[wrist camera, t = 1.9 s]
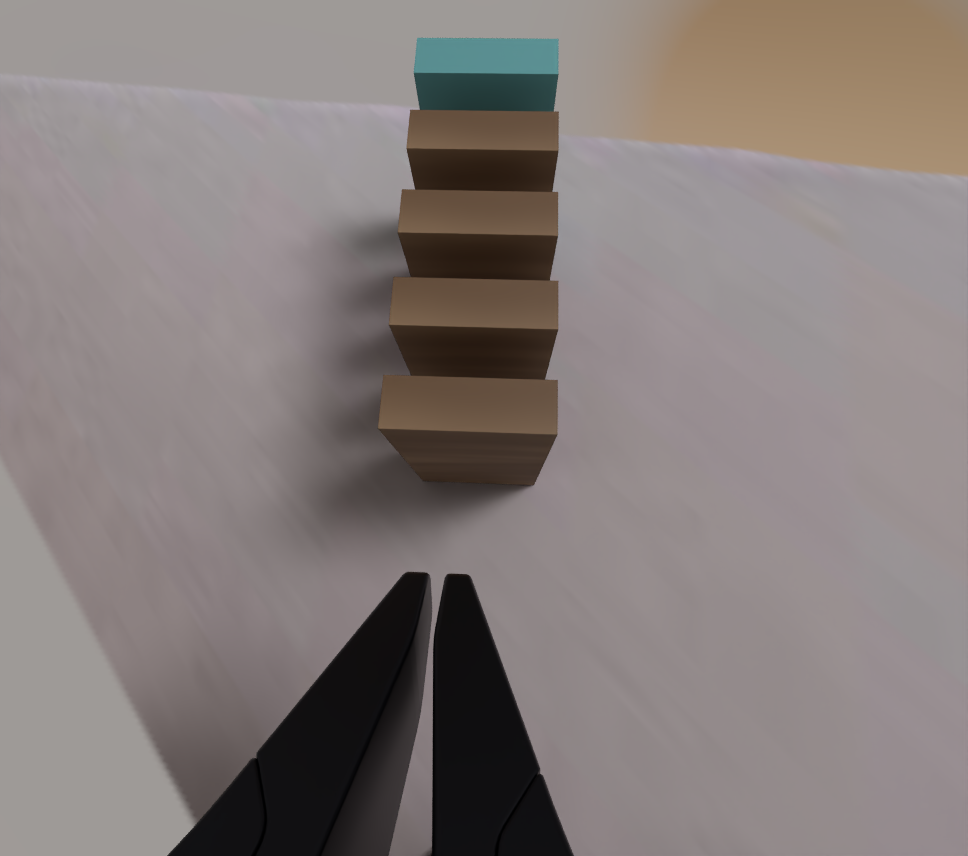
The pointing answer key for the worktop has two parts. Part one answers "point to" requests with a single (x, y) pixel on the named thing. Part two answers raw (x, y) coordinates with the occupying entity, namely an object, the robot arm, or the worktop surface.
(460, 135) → the domino
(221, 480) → the worktop surface
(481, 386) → the domino
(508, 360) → the domino
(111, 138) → the worktop surface
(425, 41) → the domino
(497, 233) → the domino
